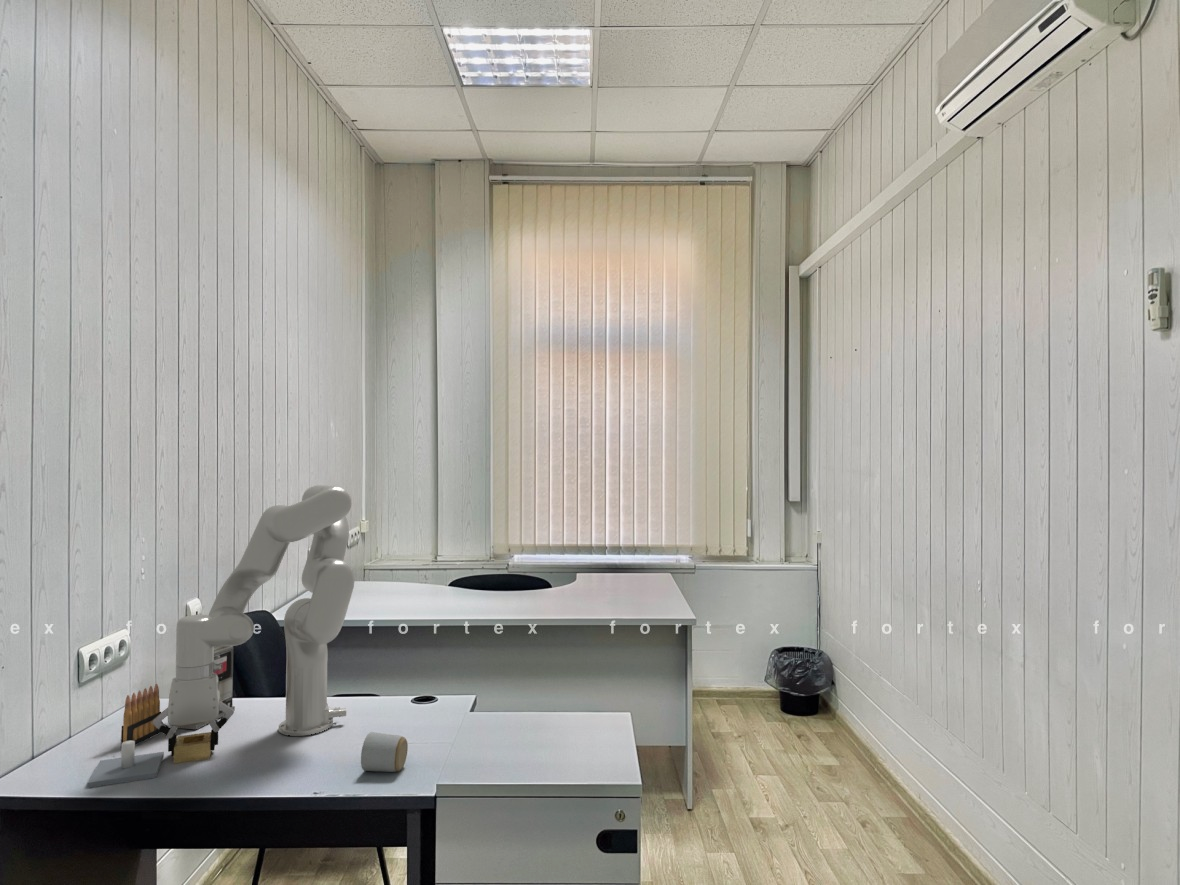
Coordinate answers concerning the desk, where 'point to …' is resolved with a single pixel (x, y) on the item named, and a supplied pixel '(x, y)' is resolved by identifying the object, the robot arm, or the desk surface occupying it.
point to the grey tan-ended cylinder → (383, 752)
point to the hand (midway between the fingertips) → (193, 750)
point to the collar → (192, 747)
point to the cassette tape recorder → (221, 680)
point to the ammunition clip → (141, 716)
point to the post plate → (128, 774)
